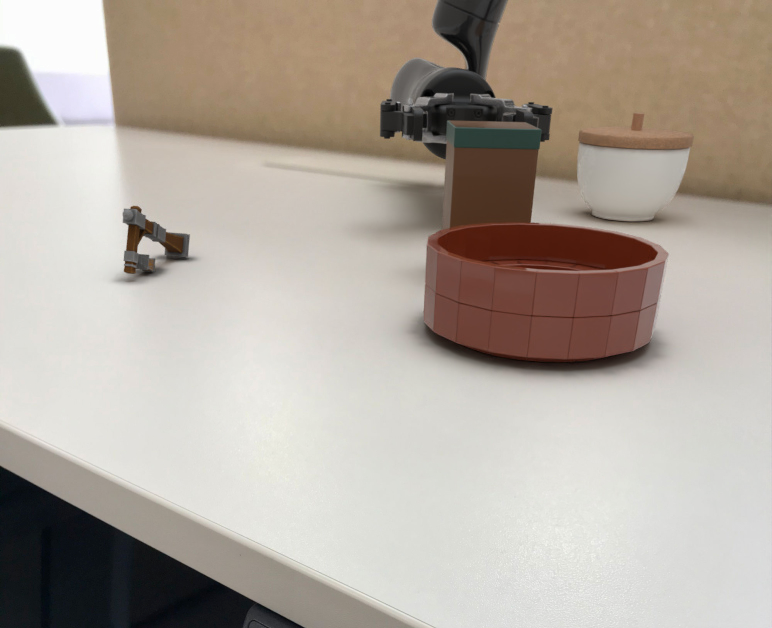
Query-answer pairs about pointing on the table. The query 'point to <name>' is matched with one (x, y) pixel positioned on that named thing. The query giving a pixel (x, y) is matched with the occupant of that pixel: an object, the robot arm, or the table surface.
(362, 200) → the table surface
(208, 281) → the table surface
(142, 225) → the wooden post with brackets
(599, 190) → the trinket box
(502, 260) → the bowl
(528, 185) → the tea box
